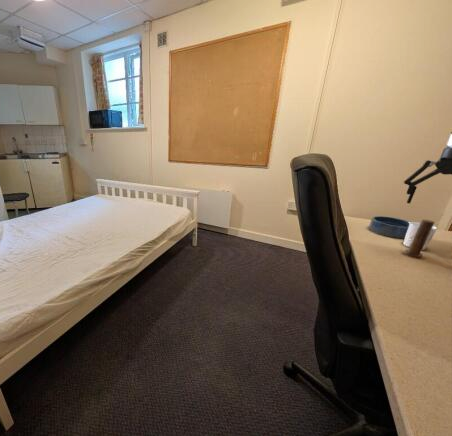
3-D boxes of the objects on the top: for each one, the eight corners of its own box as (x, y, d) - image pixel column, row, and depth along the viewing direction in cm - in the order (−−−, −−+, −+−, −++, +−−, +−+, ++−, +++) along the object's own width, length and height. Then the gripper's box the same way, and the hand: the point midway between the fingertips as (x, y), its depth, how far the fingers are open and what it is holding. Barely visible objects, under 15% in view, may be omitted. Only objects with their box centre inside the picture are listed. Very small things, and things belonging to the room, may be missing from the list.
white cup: (426, 252, 92) (437, 230, 89) (400, 245, 98) (408, 225, 94) (427, 246, 97) (437, 225, 93) (402, 240, 103) (410, 220, 99)
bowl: (409, 232, 112) (414, 221, 110) (411, 242, 101) (417, 230, 99) (369, 224, 122) (372, 214, 120) (367, 232, 111) (371, 221, 109)
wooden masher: (421, 255, 90) (437, 220, 85) (422, 259, 87) (439, 224, 81) (403, 251, 93) (418, 217, 88) (404, 255, 90) (419, 221, 85)
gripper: (409, 146, 81) (388, 201, 88) (532, 149, 64) (493, 216, 72) (408, 145, 86) (388, 198, 93) (522, 148, 70) (486, 211, 77)
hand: (434, 206), depth 83 cm, fingers open, 13 cm apart
